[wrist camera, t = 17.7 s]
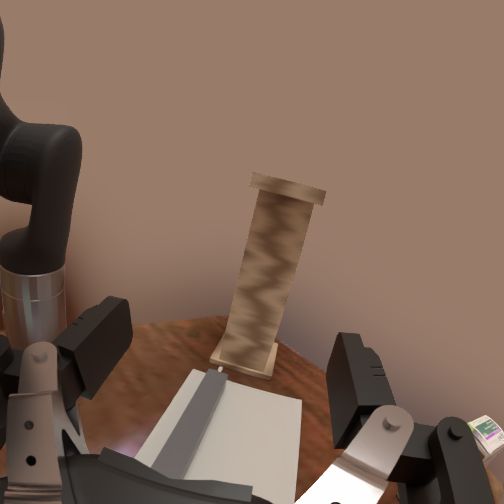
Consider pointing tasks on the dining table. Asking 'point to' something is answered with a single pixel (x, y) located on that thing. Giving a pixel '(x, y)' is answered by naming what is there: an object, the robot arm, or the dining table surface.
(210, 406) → the dark grey block
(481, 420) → the syrup box
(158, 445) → the off-white board
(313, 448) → the dining table surface
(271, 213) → the birch stand
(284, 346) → the dining table surface
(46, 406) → the robot arm
